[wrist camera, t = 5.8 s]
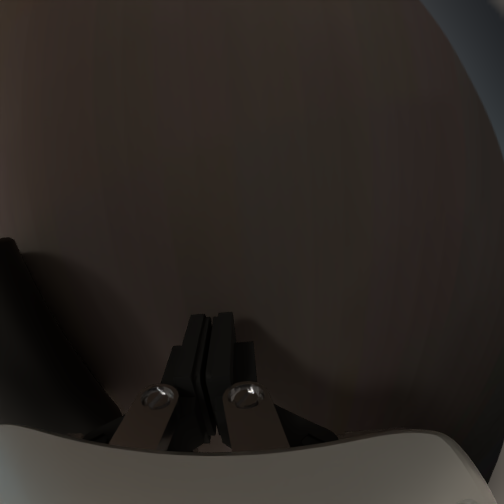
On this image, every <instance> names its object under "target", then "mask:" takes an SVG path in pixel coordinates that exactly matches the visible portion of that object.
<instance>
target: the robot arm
mask: <svg viewBox="0 0 504 504" xmlns="http://www.w3.org/2000/svg"><path fill="white" fill-rule="evenodd" d="M216 425H217V429H218V432H219V435H221V438H222V442H223V443H224V444H226V445H227V446H228V447H230V448H231V449H232V452H217V453H203V452H198V448H197V447H199V446H200V445H202V444H203V443H210V437H211V435H215V434H216ZM0 504H497V502H496V500H495V498H494V496H493V494H492V493H491V491H490V489H489V487H488V485H487V483H486V482H485V480H484V479H483V477H482V476H481V474H480V472H479V471H478V469H477V468H476V466H475V465H474V463H473V462H472V461H471V459H470V458H469V457H468V455H467V454H466V453H465V452H464V450H463V449H462V448H461V447H460V446H459V445H458V444H457V443H456V442H455V441H454V440H453V439H451V438H450V437H449V436H447V435H445V434H443V433H440V432H437V431H432V430H422V429H415V430H412V429H409V428H406V427H398V428H389V429H378V430H366V431H347V432H345V433H344V435H335V434H334V433H333V432H331V431H330V430H328V429H326V428H323V427H321V426H319V425H317V424H314V423H312V422H310V421H308V420H306V419H304V418H301V417H299V416H297V415H295V414H293V413H291V412H289V411H287V410H285V409H283V408H281V407H279V406H277V405H275V404H273V401H272V399H271V396H270V393H269V391H268V389H267V388H266V387H265V386H263V385H262V384H260V383H257V376H256V365H255V354H254V344H253V342H240V343H236V336H235V328H234V320H233V313H232V312H227V313H219V314H218V317H214V319H213V325H212V324H211V318H210V317H206V316H205V314H196V315H191V317H190V320H189V323H188V327H187V330H186V333H185V337H184V340H183V344H182V346H173V348H172V351H171V354H170V357H169V360H168V363H167V366H166V369H165V372H164V375H163V378H162V381H161V384H154V385H150V386H148V387H146V388H144V389H143V390H141V391H140V393H139V394H138V395H137V397H136V398H135V400H134V402H133V403H132V405H131V407H130V408H129V410H128V412H127V414H125V415H123V416H121V417H119V418H117V419H115V420H113V421H111V422H109V423H107V424H105V425H103V426H101V427H99V428H97V429H95V430H92V431H91V432H89V433H87V434H86V435H85V436H83V434H82V433H54V432H50V431H46V430H42V429H38V428H34V427H29V426H23V425H16V424H0Z"/></svg>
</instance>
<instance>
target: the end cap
mask: <svg viewBox="0 0 504 504" xmlns="http://www.w3.org/2000/svg"><path fill="white" fill-rule="evenodd" d="M121 416H122V414H121V412H120V410H119V408H118V406H117V405H116V404H115V403H114V402H113V401H112V399H111V398H110V397H109V396H108V394H107V393H106V392H105V391H104V390H103V388H102V387H101V386H100V385H99V383H98V382H97V381H96V379H95V378H94V377H93V375H92V374H91V373H90V372H89V370H88V369H87V367H86V366H85V365H84V363H83V362H82V361H81V359H80V358H79V356H78V355H77V353H76V352H75V351H74V349H73V348H72V346H71V345H70V343H69V342H68V340H67V339H66V337H65V335H64V334H63V332H62V331H61V329H60V328H59V326H58V324H57V323H56V321H55V319H54V318H53V316H52V314H51V313H50V311H49V309H48V307H47V306H46V304H45V302H44V300H43V298H42V296H41V295H40V293H39V291H38V289H37V287H36V285H35V283H34V281H33V279H32V277H31V275H30V273H29V271H28V269H27V267H26V265H25V262H24V260H23V258H22V256H21V254H20V251H19V249H18V247H17V245H16V242H15V240H14V239H12V238H10V237H6V238H0V424H16V425H23V426H29V427H34V428H38V429H42V430H46V431H50V432H54V433H82V434H83V436H85V435H86V434H87V433H89V432H91V431H92V430H95V429H97V428H99V427H101V426H103V425H105V424H107V423H109V422H111V421H113V420H115V419H117V418H119V417H121Z"/></svg>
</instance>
